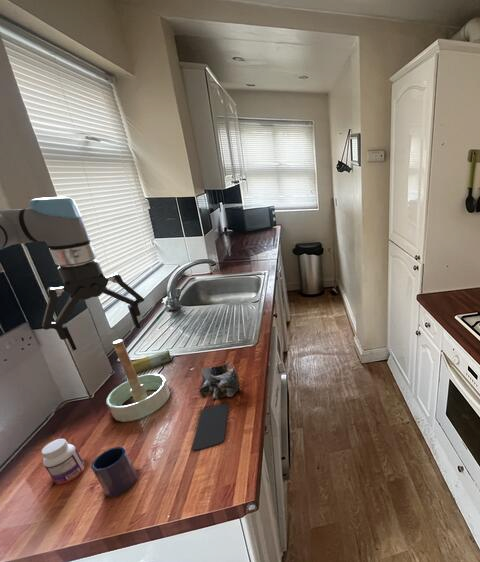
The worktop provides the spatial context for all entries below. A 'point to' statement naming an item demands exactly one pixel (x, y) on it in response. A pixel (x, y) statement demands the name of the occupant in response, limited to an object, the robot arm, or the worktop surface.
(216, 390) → the grey sculpted pot
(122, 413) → the bowl
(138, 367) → the medication box
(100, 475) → the utensil pot
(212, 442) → the phone
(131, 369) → the stirring paddle
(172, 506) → the worktop surface
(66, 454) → the pill bottle
